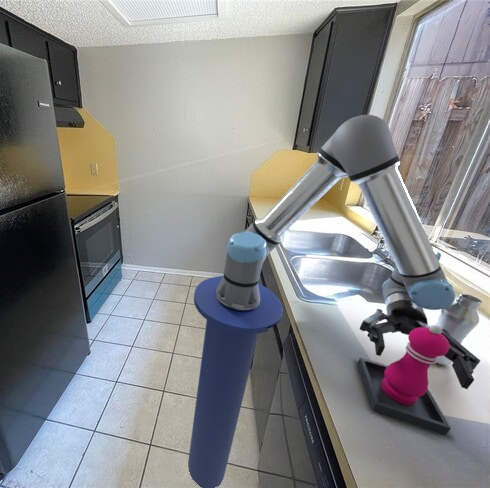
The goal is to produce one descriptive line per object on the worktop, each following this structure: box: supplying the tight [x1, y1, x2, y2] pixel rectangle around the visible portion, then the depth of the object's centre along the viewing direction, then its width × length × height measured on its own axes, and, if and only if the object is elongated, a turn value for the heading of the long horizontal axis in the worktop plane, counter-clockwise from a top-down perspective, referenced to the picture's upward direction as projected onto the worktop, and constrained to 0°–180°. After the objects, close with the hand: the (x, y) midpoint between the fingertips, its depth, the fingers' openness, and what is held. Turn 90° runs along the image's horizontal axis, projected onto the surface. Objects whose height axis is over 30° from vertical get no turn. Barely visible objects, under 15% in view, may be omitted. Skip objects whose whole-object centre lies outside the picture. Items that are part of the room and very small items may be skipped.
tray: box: [356, 357, 452, 435], centre depth 60 cm, size 14×13×2 cm
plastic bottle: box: [435, 293, 483, 366], centre depth 67 cm, size 6×7×20 cm
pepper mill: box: [381, 324, 449, 405], centre depth 56 cm, size 7×7×20 cm
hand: (421, 366), depth 53 cm, fingers open, 13 cm apart
